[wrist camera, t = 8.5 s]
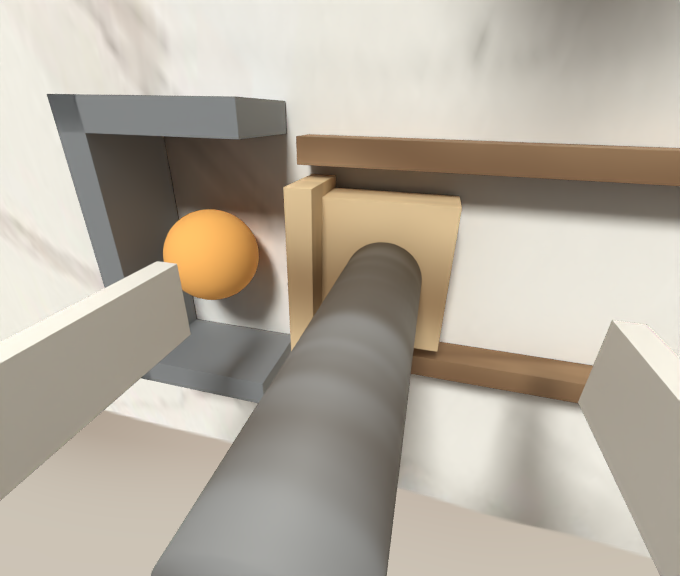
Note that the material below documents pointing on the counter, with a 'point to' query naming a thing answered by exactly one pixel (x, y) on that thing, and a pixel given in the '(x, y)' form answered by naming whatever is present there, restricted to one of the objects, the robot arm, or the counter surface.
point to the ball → (212, 253)
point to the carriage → (330, 392)
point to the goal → (164, 215)
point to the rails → (498, 161)
